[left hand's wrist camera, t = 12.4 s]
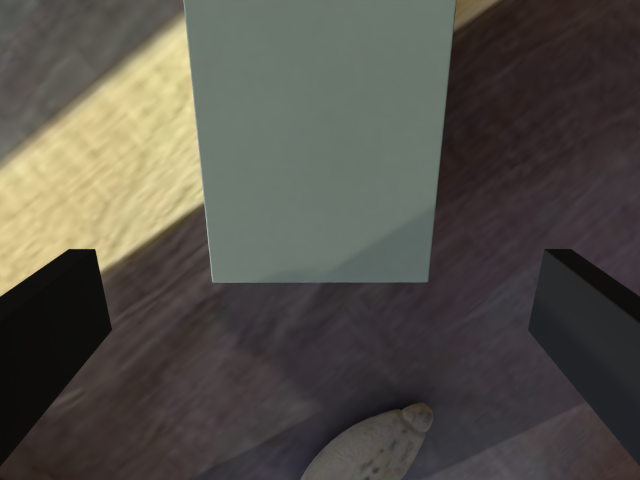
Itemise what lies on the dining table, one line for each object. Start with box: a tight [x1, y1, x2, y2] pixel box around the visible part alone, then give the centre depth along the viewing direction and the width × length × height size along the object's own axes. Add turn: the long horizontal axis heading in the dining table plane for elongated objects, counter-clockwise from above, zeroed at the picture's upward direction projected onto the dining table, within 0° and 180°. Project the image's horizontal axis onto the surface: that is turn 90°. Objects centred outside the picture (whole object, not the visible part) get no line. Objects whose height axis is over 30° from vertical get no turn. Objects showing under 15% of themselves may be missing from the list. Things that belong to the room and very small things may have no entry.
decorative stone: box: [300, 403, 434, 480], centre depth 34 cm, size 6×16×3 cm, turn 140°
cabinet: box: [184, 0, 456, 282], centre depth 22 cm, size 17×10×9 cm, turn 0°
